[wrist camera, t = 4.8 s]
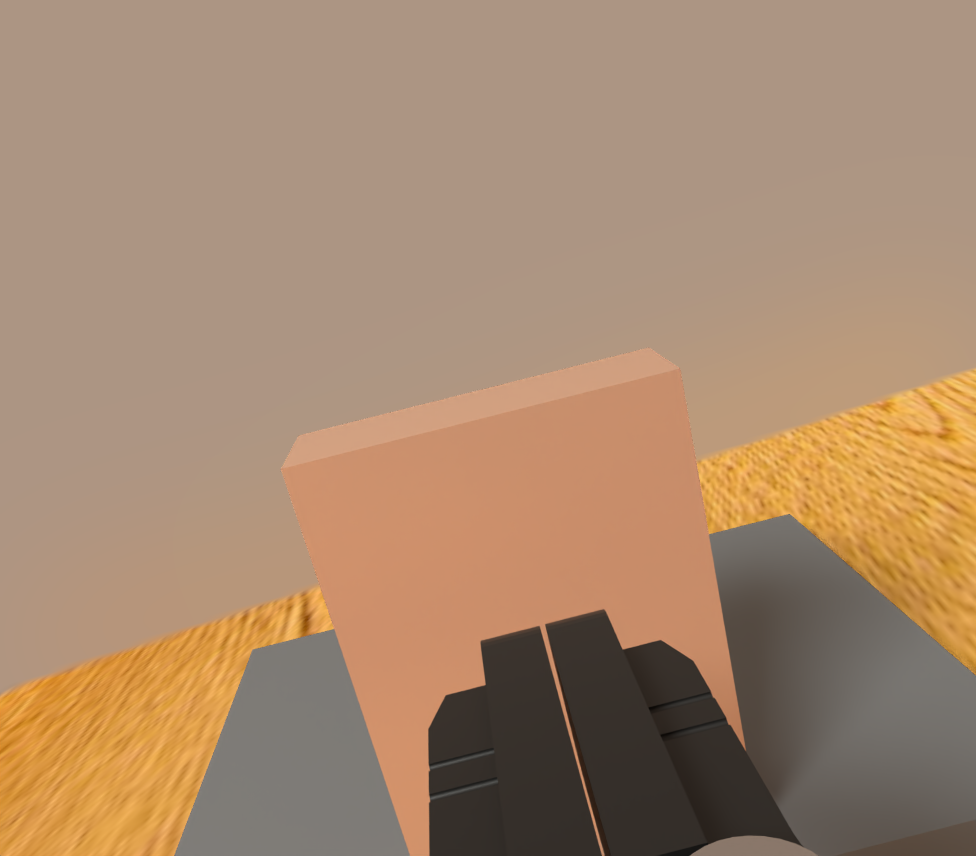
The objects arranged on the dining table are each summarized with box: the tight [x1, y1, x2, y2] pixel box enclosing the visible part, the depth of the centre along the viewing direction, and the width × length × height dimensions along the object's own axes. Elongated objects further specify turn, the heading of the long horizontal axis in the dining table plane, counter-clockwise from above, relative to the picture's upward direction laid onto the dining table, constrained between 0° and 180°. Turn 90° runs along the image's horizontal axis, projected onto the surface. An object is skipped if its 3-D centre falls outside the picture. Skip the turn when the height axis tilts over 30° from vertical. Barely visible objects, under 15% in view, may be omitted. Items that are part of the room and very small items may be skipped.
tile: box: [281, 348, 746, 856], centre depth 16 cm, size 7×2×10 cm, turn 94°
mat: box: [174, 514, 976, 856], centre depth 22 cm, size 20×14×1 cm
